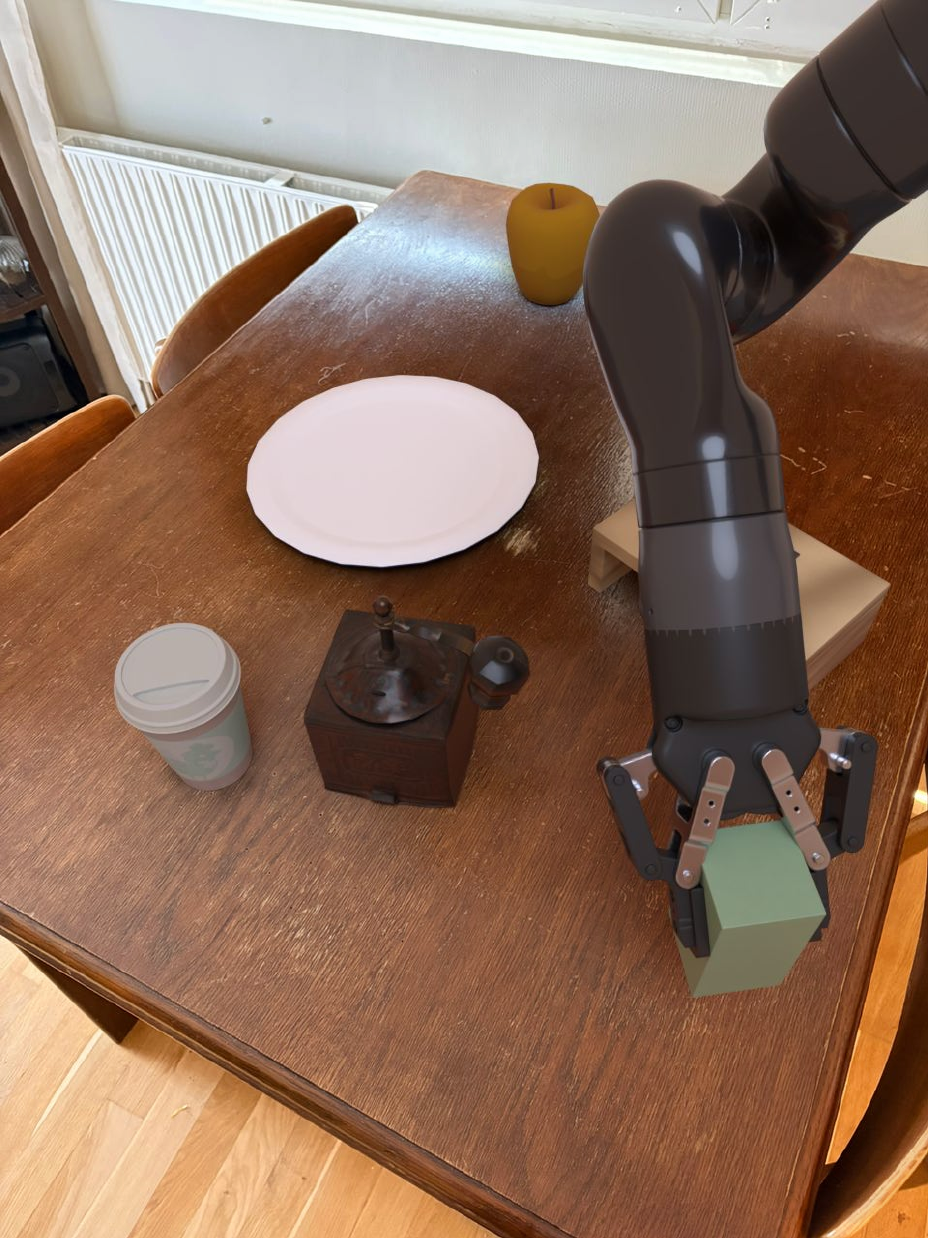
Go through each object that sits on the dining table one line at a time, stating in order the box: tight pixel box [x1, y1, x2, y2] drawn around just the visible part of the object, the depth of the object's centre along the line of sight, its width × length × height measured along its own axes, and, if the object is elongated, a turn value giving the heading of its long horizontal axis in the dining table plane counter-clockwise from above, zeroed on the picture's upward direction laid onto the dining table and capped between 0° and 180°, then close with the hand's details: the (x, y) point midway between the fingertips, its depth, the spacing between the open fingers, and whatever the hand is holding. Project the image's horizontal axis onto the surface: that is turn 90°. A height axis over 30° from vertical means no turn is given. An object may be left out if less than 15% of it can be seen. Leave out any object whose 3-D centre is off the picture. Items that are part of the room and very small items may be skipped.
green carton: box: [667, 820, 826, 999], centre depth 47 cm, size 5×5×10 cm
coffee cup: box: [113, 622, 254, 792], centre depth 65 cm, size 8×9×12 cm
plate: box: [246, 374, 540, 569], centre depth 90 cm, size 29×29×2 cm
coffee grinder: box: [302, 595, 531, 808], centre depth 62 cm, size 16×11×18 cm
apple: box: [505, 182, 601, 306], centre depth 106 cm, size 11×11×13 cm
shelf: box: [587, 498, 891, 692], centre depth 74 cm, size 20×12×7 cm, turn 41°
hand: (752, 941), depth 46 cm, fingers closed on green carton, 5 cm apart
